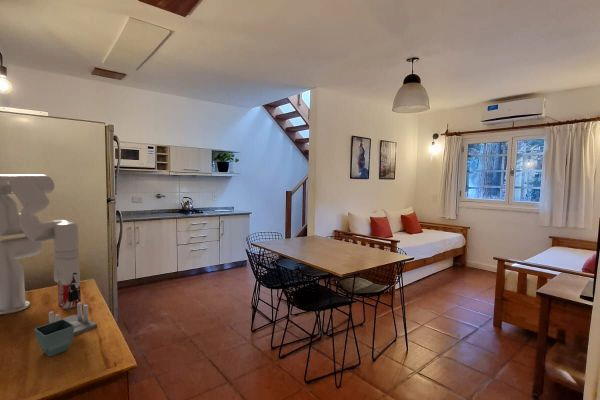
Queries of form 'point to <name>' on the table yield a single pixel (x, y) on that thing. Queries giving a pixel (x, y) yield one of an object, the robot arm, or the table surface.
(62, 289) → the soda can
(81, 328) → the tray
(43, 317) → the table surface
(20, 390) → the table surface
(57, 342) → the flower pot
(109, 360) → the table surface
